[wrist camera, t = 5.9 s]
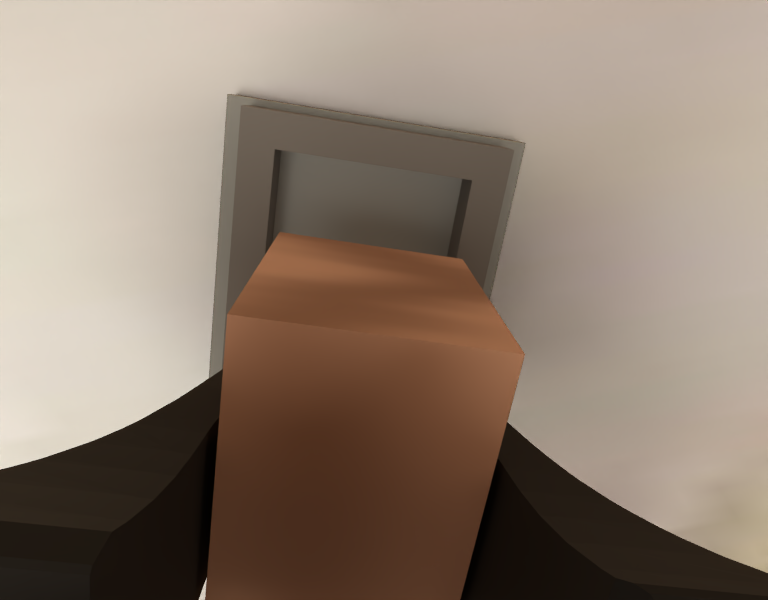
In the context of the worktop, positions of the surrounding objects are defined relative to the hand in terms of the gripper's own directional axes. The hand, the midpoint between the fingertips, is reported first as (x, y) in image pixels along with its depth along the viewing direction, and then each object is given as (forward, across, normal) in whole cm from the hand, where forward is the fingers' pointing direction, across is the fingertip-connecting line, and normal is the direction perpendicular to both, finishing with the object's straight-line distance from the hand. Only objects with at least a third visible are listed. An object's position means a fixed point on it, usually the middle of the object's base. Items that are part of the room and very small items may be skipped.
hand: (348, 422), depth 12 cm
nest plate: (+8, 0, 0) cm, 8 cm away
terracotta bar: (+1, 0, 0) cm, 1 cm away
